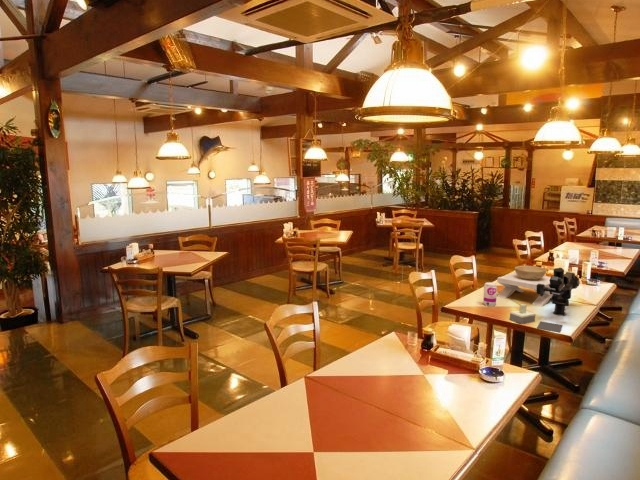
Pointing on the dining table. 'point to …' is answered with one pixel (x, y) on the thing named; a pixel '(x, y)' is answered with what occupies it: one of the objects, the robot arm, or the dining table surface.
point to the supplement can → (490, 294)
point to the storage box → (522, 319)
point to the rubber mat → (549, 326)
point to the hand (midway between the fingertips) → (549, 296)
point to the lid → (522, 312)
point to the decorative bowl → (525, 282)
